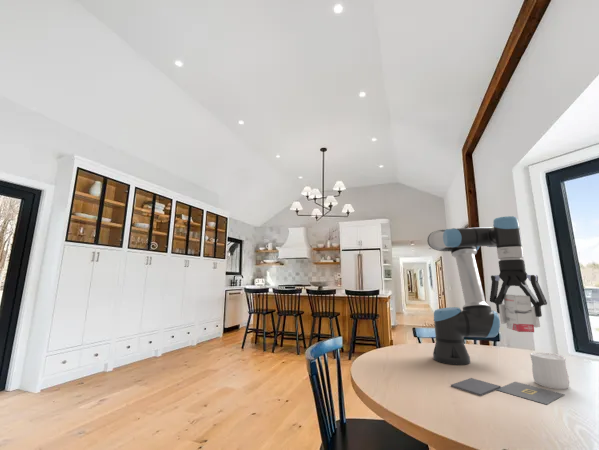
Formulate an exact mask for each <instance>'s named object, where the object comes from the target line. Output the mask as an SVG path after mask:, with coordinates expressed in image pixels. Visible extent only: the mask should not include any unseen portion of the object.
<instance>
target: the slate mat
mask: <svg viewBox="0 0 599 450" xmlns="http://www.w3.org/2000/svg"><path fill="white" fill-rule="evenodd" d="M495 391H498V392H502V393H505V394H507V395H508V394H509V395H512V396H516V397H519V398H521V399H525V400H529V401H533V402H535V403H539V404H543V405H549V404H551V403H553V402H554V401H556V400H558V399H560V398H562V397H564V396H565V394H564V393H561V392H558V391H554V390H550V389H547V388H546V389H545V388H542V387H539V386H535V385H530V384H526V383H523V382H518V381H513V382H510V383H508V384H506V385H503V386H501V387H500V388H498V389H496V390H495Z"/></svg>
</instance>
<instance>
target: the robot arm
mask: <svg viewBox="0 0 599 450" xmlns="http://www.w3.org/2000/svg"><path fill="white" fill-rule="evenodd" d="M492 223H493V226H489V227H487V226H485V227H466V228H465V227H464V228H463V227H461V228H459V227H457V228H454V227H453V228H447V229H437V230H435V231H432V232H431V233H430V234H428V236H427V245H428V246H429V247H430V248H431V249H432V250H435V251H439V252H451V254H450V255H451V257H454V258H455V261H456V265H457V270H458V271H457V272H458V275H459V280H460V286H461V291H462V294H463V295H462V296H463V300H464V305H463V306H462V310H461V308H460V307H458V306H457V307H451V306H449V307H443V308H437V309H435V310H434V311H433V321H434V322H433V324H434V334H435V345H434V349H433V353H432V355H433V356H432V357H433V360H434V361H436V362H439V363H442V364H448V365H457V366H458V365H459V366H460V365H469V364H470V363H471V358H470V355H469V352H468V350H467V348H466V345H465V343H464V342H465V341H464V339H465V338H484V339H487V338H495V337H496V336H498V334H499V333H500V329H501V328H500V327H501V324H507V323H506V314H505V304H504V295H505V294H508V293H507V292H508V289H509V288H510V287H519V288H520V289H521V290H522V292H523V293H524V295H525V296H530V301H531V305H533V306H531V311H532V317H533V324H534V328H540V327H541V323H540V318H541V317H542V315H543V313H542V309H541V308H542V307H543V306H547V304H548V301H547V299H546V297H545V294H544V292H543V290H542V288H541V286H540V283H539V276H538V275H537V274H528V273H527V271H526V263H525V260H524V259H523V258H524V257H525V256H524V249H523V246H522V239H521V238H522V237H521V230H520V229H521V227H520V224H519V220H518V217H516V216H513V215H512V216H509V215H508V216H501V217H496V218H494V219H493V222H492ZM480 247H489V248H492V247H493V248H496V253H497V258H498V259H499V260H498V268H499V274H496V275H490V280H491V286H490V295H489V302H490V303H493V304H495V306H496V307H495V308H496V311H495V310H492V307H491V305H489V304H488V303H487V302H486V299H485V297H486V296H485V293H484V290H483V286H482V281H481V277H480V274H479V268H478V264H477V261H476V257H475V255H477V253H478V250H479V249H480ZM527 279H528V281H529V282H530V284H531V287H532V290H533V292H534V293H535V295H534V293H533V292H532V290H531V289H530V287H529V285H528V284H527V283H526V280H527ZM501 280H502V283H501V286H500V287H501V288H500V289H499V285H500V283H499V281H501Z"/></svg>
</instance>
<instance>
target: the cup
mask: <svg viewBox="0 0 599 450" xmlns="http://www.w3.org/2000/svg"><path fill="white" fill-rule="evenodd" d="M529 356H530V359H531V363H532V364H531V368H532V369H531V370H532V377H533V378H532V379H533V380H534V382H535V383H536V384H537V385H538V386H542V387H545V388H549V389H556V390H566V389H568V388H569V387H570V380H569V377H570V376H569V374H568V369H567V363H566V362H567V361H566V357H565V356H563V355H561V354H557V353H550V352H549V353H548V352H531V353H529Z"/></svg>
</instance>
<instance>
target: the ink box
mask: <svg viewBox="0 0 599 450" xmlns="http://www.w3.org/2000/svg"><path fill="white" fill-rule="evenodd" d="M503 304H505V314H506V323H505V324H506V328H507V329H509V330H513V331H515V332H518V333H535V327H534V324H533V317H532V311H531V307H532V303H531V301H530V296H526V295H523V294H521V295H520V294H513V293H510V294H509V293H506V294H505V295H504V300H503Z"/></svg>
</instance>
